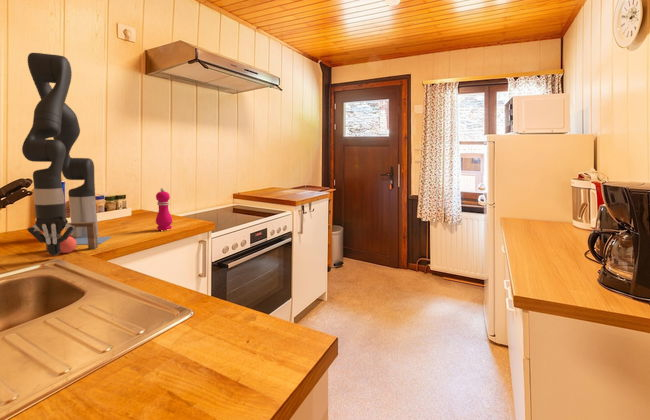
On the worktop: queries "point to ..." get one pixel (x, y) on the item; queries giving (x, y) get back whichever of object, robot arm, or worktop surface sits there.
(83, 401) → the worktop surface
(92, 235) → the bridge
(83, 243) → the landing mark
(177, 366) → the worktop surface
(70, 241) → the ball
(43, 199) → the robot arm
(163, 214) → the pepper mill
